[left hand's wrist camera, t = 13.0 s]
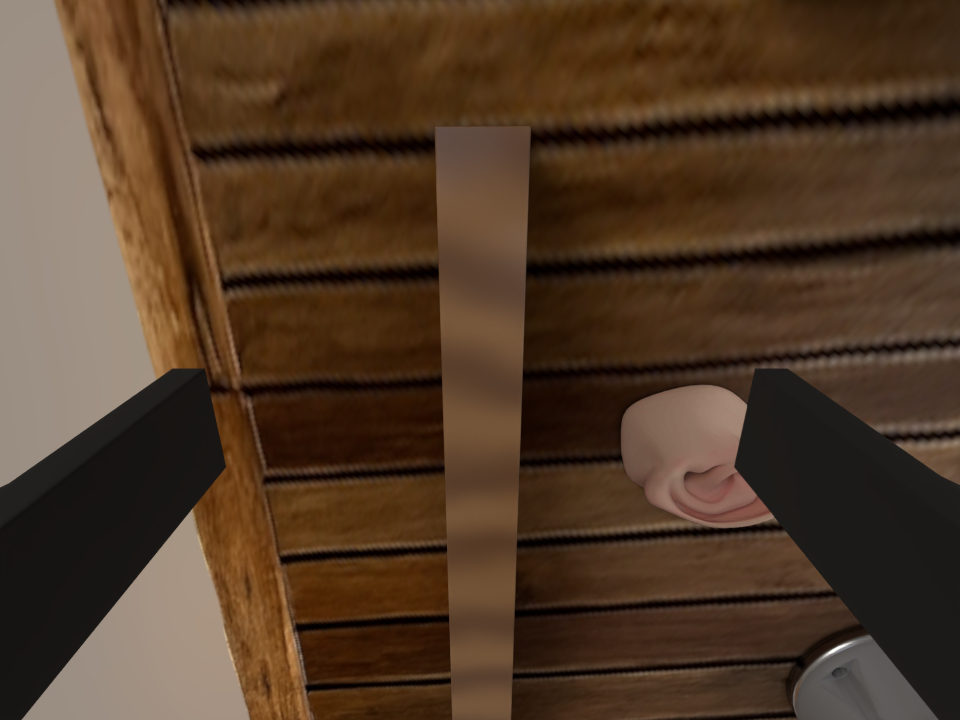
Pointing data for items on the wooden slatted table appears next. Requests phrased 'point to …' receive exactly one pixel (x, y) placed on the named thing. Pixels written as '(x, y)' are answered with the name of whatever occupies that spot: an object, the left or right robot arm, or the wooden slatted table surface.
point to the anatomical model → (691, 455)
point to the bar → (482, 398)
